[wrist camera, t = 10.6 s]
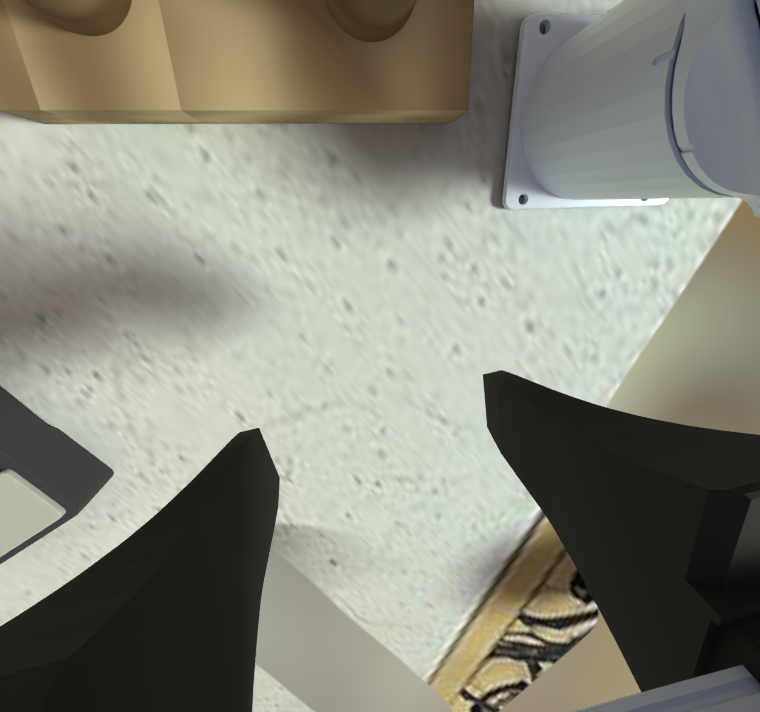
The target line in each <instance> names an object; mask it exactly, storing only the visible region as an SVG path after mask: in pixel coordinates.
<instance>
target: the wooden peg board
mask: <svg viewBox="0 0 760 712" xmlns="http://www.w3.org/2000/svg"><path fill="white" fill-rule="evenodd" d="M473 10H474V0H0V111H2V112H5V113H9V114H12V115H16V116H20V117H23V118H27V119H30V120H34V121H37V122H41V123H44V124H244V123H450V122H451V121H453V120H454V119H456V118H457V117H459V116H460V115H462V114H463V113H465V112H466V111H467V106H468V90H469V74H470V58H471V42H472V26H473Z"/></svg>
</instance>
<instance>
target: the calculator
mask: <svg viewBox="0 0 760 712" xmlns="http://www.w3.org/2000/svg"><path fill="white" fill-rule="evenodd" d="M113 474H114V472H113V470H112V469H111V468H110V467H108V466H107V465H106V464H104V463H103V462H102V461H100V460H99V459H98V458H96V457H95V456H94V455H93V454H91V453H90V452H89V451H87V450H86V449H85V448H83V447H82V446H81V445H79V444H78V443H77V442H75V441H74V440H73V439H71V438H70V437H69V436H67V435H66V434H65V433H63V432H62V431H61V430H59V429H58V428H54V427H51V426H49V425H48V424H46V423H45V422H44V421H43V420H41V419H40V418H39V417H38V416H36V415H35V414H34V413H33V412H32V411H30V410H29V409H28V408H27V407H25V406H24V405H23V404H22V403H21V402H19V401H18V400H17V399H16V398H14V397H13V396H12V395H11V394H10V393H8V392H7V391H6V390H5V389H3V388H2V387H1V386H0V564H1V563H3V562H5V561H6V560H8V559H9V558H11V557H12V556H14V555H15V554H17V553H19V552H20V551H22V550H23V549H25V548H26V547H28V546H29V545H31V544H33V543H34V542H36V541H37V540H39V539H40V538H42V537H43V536H45V535H47V534H48V533H50V532H51V531H53V530H54V529H56V528H58V527H59V526H61V525H62V524H64V523H65V522H67V521H68V520H70V519H72V518H73V517H75V516H76V515H77V514H78V513H79V512H80V511H81V510H82V509H83V508H84V507H85V506H86V505H87V504H88V503H89V502H90V500H91V499H92V498H93V497H94V496H95V495H96V494H97V493H98V492H99V490H100V489H101V488H102V487H103V486H104V485H105V484H106V483H107V482H108V481H109V479H110V478H111V477H112V476H113Z"/></svg>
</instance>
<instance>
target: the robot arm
mask: <svg viewBox="0 0 760 712" xmlns="http://www.w3.org/2000/svg"><path fill="white" fill-rule="evenodd" d="M540 24H544V26H545V27H546V32H545V35H543V34H541V32H540V30H539V26H540ZM521 195H523V196H524V202H523V203H522V204H520V203H519V200H518V199H519V197H520V196H521ZM723 197H737V198H741V199H743V200H744V201H746V202H747V203H748V204H749V205H750V207H751V208H752V210H753V212H754V215H755V216H757V217H760V0H624V1H622V2H621V3H619V4H618V5H617V6H615V7H614V8H612V9H611V10H609V11H608V12H607V13H605V14H604V15H595V14H564V13H532V14H530V15H529V16H528V17H527V18H525V19H524V21H523V22H522V24H521V27H520V33H519V43H518V52H517V62H516V71H515V81H514V91H513V100H512V110H511V120H510V129H509V139H508V148H507V158H506V168H505V177H504V187H503V196H502V204H503V206H504V207H505V208H506V209H508V210H528V209H561V208H595V207H629V206H659V205H662V204H664V203H665V202H666V201H667V200H668V198H723ZM641 199H642V200H641ZM483 381H484V393H485V405H486V417H487V427H488V429H489V431H490V433H491V435H492V437H493V439H494V441H495V443H496V445H497V447H498V448H499V450H500V452H501V454H502V455H503V457H504V458H505V459H506V461H507V462H508V464H509V465H510V466H511V468H512V469H513V471H514V472H515V474H516V475H517V476H518V478H519V479H520V480H521V482H522V483H523V485H524V486H525V487H526V489H527V490H528V491H529V493H530V494H531V496H532V497H533V498H534V500H535V501H536V503H537V504H538V505H539V507H540V508H541V509H542V511H543V512H544V514H545V515H546V517H547V518H548V520H549V521H550V523H551V524H552V526H553V528H554V530H555V531H556V533H557V535H558V536H559V538H560V540H561V542H562V543H563V545H564V547H565V548H566V550H567V552H568V554H569V555H570V557H571V559H572V561H573V562H574V564H575V566H576V568H577V570H578V571H579V573H580V575H581V577H582V579H583V580H584V582H585V584H586V586H587V588H588V589H589V591H590V593H591V595H592V597H593V599H594V601H595V602H596V604H597V606H598V608H599V610H600V612H601V614H602V616H603V618H604V619H605V621H606V623H607V625H608V627H609V629H610V631H611V633H612V635H613V637H614V638H615V640H616V642H617V644H618V646H619V648H620V650H621V652H622V654H623V656H624V658H625V660H626V662H627V664H628V666H629V668H630V670H631V672H632V674H633V676H634V678H635V680H636V682H637V684H638V686H639V688H640V690H641V693H637V694H634V695H630V696H627V697H623V698H619V699H616V700H612V701H609V702H605V703H601V704H598V705H594V706H591V707H587V708H583V709H579V710H576V711H572V712H760V435H755V434H746V433H737V432H730V431H722V430H714V429H707V428H700V427H693V426H686V425H681V424H676V423H671V422H666V421H660V420H655V419H650V418H645V417H641V416H637V415H633V414H629V413H625V412H621V411H617V410H613V409H609V408H606V407H602V406H599V405H596V404H592V403H589V402H586V401H583V400H580V399H577V398H574V397H571V396H568V395H566V394H563V393H560V392H557V391H555V390H552V389H550V388H547V387H544V386H542V385H539V384H537V383H534V382H532V381H529V380H527V379H524V378H522V377H519V376H517V375H514V374H511V373H509V372H506V371H502V370H501V371H496V372H492V373H488V374H484V375H483ZM279 479H280V478H279V475H278V473H277V470H276V468H275V465H274V463H273V461H272V458H271V456H270V453H269V451H268V448H267V446H266V444H265V441H264V439H263V436H262V434H261V432H260V429H259V428H256V429H252V430H248V431H244V432H240V433H238V434H237V435H236V436H235V437H234V438H233V439H232V440H231V441H230V442H229V443H228V444H227V445H226V446H225V447H224V448H223V449H222V450H221V451H220V452H219V453H218V454H217V455H216V456H215V457H214V458H213V459H212V461H211V462H210V463H209V464H208V465H207V466H206V467H205V468H204V469H203V470H202V471H201V472H200V473H199V474H198V475H197V476H196V477H195V478H194V479H193V480H192V481H191V482H190V483H189V484H188V485H187V486H186V487H185V488H184V489H183V490H182V491H181V492H180V493H179V494H178V495H176V496H175V497H174V498H173V499H172V500H171V501H170V502H169V503H168V504H167V505H166V506H165V507H164V508H163V509H162V510H161V511H159V512H158V513H157V514H156V515H155V516H154V517H153V518H152V519H150V520H149V521H148V522H147V523H146V524H144V525H143V526H142V527H141V528H140V529H138V530H137V531H136V532H135V533H134V534H132V535H131V536H130V537H129V538H128V539H126V540H125V541H124V542H122V543H121V544H120V545H119V546H117V547H116V548H115V549H113V550H112V551H110V552H109V553H108V554H106V555H105V556H104V557H102V558H101V559H100V560H98V561H97V562H96V563H94V564H93V565H92V566H90V567H89V568H88V569H86V570H85V571H84V572H82V573H81V574H80V575H78V576H77V577H75V578H74V579H72V580H71V581H69V582H68V583H67V584H65V585H64V586H62V587H61V588H59V589H58V590H56V591H55V592H53V593H52V594H50V595H49V596H47V597H46V598H44V599H43V600H41V601H40V602H38V603H37V604H35V605H33V606H32V607H30V608H29V609H27V610H26V611H24V612H23V613H21V614H20V615H18V616H16V617H15V618H13V619H12V620H10V621H8V622H7V623H5V624H4V625H2V626H0V712H252V701H253V683H254V670H255V657H256V644H257V632H258V621H259V611H260V602H261V595H262V588H263V581H264V577H265V571H266V567H267V561H268V557H269V552H270V547H271V542H272V537H273V531H274V526H275V521H276V516H277V510H278V499H279Z"/></svg>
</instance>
